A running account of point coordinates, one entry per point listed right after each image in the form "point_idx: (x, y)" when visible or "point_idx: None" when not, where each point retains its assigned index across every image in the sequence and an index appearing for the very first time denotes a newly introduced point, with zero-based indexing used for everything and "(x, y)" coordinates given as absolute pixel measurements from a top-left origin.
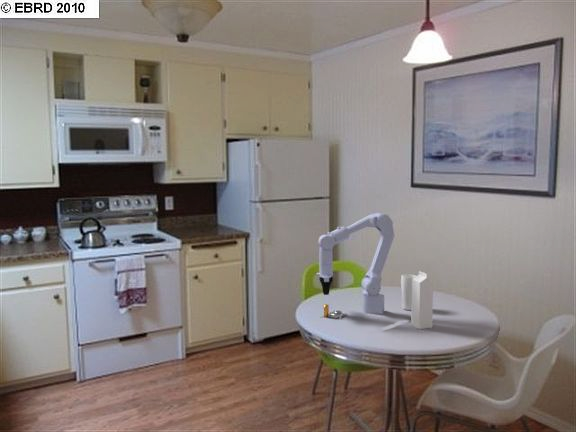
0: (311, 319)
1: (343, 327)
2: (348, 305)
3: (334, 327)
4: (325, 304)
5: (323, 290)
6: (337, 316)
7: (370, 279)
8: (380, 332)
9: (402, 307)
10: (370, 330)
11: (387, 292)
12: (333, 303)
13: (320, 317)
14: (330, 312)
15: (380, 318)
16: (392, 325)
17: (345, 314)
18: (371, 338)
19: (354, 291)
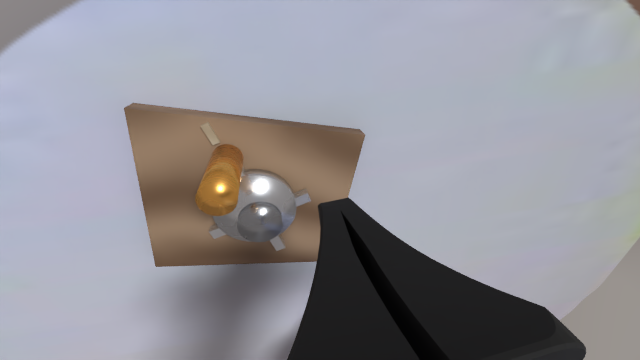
0: (206, 53)
1: (137, 242)
2: (457, 210)
3: (113, 207)
4: (233, 192)
5: (321, 236)
6: (216, 222)
7: None
8: (146, 343)
9: None
10: (152, 320)
11: (556, 285)
12: (501, 147)
13: (200, 125)
14: (271, 181)
15: (301, 316)
16: (237, 349)
17: (272, 244)
18: (54, 339)
19: (621, 202)
